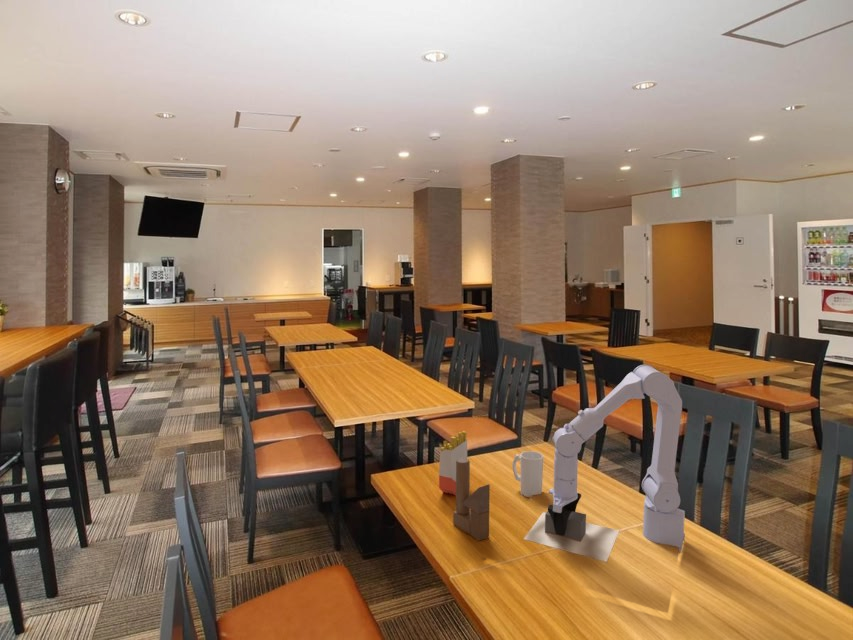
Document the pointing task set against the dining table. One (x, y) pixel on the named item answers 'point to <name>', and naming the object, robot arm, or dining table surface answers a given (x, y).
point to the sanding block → (569, 526)
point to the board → (592, 544)
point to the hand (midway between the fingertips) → (564, 527)
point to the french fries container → (451, 462)
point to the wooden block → (471, 504)
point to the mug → (529, 472)
